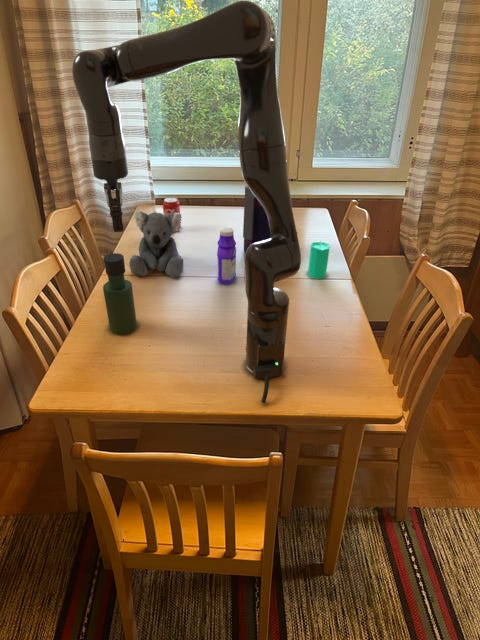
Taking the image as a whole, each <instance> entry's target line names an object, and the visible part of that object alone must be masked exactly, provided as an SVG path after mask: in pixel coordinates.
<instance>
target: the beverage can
mask: <svg viewBox="0 0 480 640" xmlns="http://www.w3.org/2000/svg"><path fill="white" fill-rule="evenodd" d="M174 212H176V213H179V214H181V205H180V201H179V199H178V198H177V197H173V196H171V197H165V198H164V200H163V202H162V214H163V215H165V216H167V215H169V214H170V213H174ZM181 228H182V223H181V224H180V226H179V227H178V228H177V230H176V231H175V232H174V233H176V232H178V231H179V230H180V229H181Z"/></svg>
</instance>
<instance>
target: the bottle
mask: <svg viewBox="0 0 480 640" xmlns="http://www.w3.org/2000/svg"><path fill="white" fill-rule="evenodd" d="M217 246H218V247H217V252H216V255H217V256H216V259H217V260H216V261H217V262H216V263H217V264H216V265H217V268H216V269H217V271H216V272H217V277H216V279H217V282H218V283H219V284H221V285H231V284H233V283H234V282H235V280H236V277H237V248H236V246H237V241H236V240H235V237H234V228H232V227H228V226H225V227H221V228H220V229H219V239H218V240H217Z"/></svg>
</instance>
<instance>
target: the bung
mask: <svg viewBox="0 0 480 640" xmlns="http://www.w3.org/2000/svg"><path fill="white" fill-rule="evenodd" d="M103 262H104V269H105V274H106V275H107V276H108V275H109V276H120V275H122V274H124V275H125V273H126V264H125V257H124V255H123V254H122V253H117V252H114V253H108V254H106V255H104V256H103Z"/></svg>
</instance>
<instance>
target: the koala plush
mask: <svg viewBox="0 0 480 640" xmlns="http://www.w3.org/2000/svg"><path fill="white" fill-rule="evenodd" d="M182 218H183V217H182V213H180V214H179V213H176V212H174V213H170V214H169V215H167V216H165V215H164V214H163V212H162V213H161V212H157V211H154V212H151V213H149V214H148V213H146V212H144V211H141V210H140V211H139V210H136V211H135V212H134V220H135V222H134V223H136V224H135V225H136V228H138V229H139V231H140V232H141V233H142V234H143V236H142V237H141V239H140V241H139V245H138V255H136V254H133V255H131V257H130V258H129V265H128V266H129V270H130V272H131V274H132V275H133V276H135V277H140V278H142V277H145V276H148V275H149V274H151V272H153V270H154V269H156V270H157V271H159V272H164V273H165V274H166V276H168V277H170V278H175V279H176V278H178V277H180V276H181V275H182V273H183V270H184V259H183V258H182V256H181V255H180V253H179V251H178V248H177V242H176V240H175V239H174V237H173V236H172V234H173V233H176V232H177V231H176V230H177V228H178V227H179V226H180V224H181V225H182ZM175 231H176V232H175Z"/></svg>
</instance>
